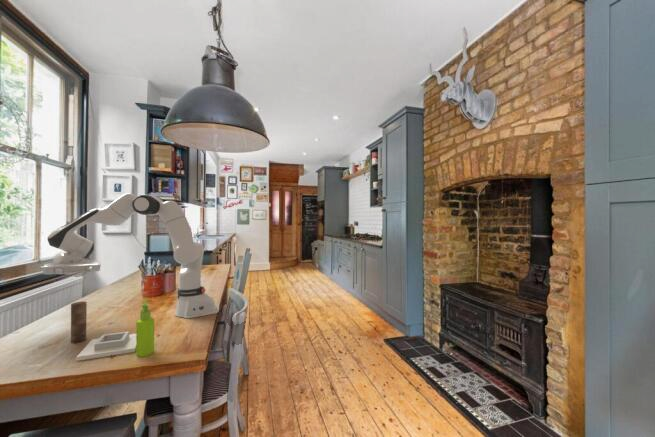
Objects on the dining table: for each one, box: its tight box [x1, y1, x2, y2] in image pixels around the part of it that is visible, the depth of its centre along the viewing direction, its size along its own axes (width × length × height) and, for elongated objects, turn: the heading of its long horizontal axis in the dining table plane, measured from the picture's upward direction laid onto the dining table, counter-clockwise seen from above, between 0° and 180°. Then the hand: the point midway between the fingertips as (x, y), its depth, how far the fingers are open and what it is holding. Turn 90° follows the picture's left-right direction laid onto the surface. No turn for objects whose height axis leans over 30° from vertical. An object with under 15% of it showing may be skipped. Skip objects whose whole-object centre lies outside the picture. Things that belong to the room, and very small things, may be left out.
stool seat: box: [76, 331, 136, 362], centre depth 115 cm, size 18×16×4 cm
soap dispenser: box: [135, 301, 155, 357], centre depth 111 cm, size 6×7×20 cm
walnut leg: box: [70, 301, 88, 344], centre depth 121 cm, size 5×5×16 cm
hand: (76, 271), depth 129 cm, fingers open, 8 cm apart
